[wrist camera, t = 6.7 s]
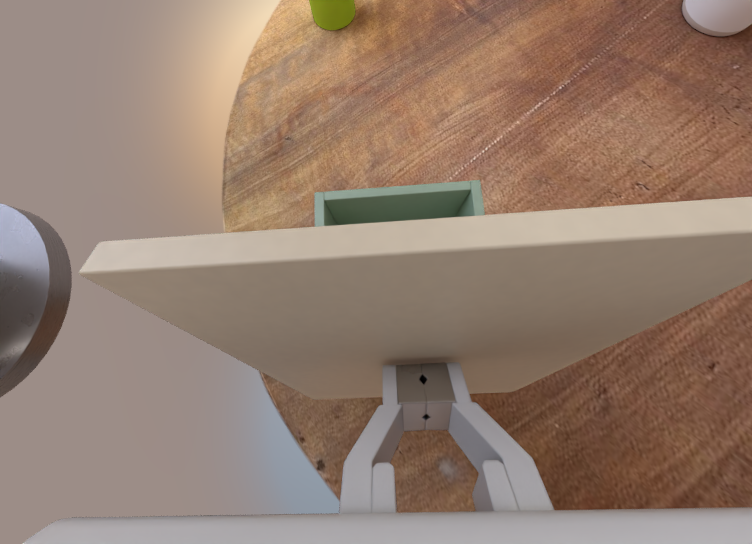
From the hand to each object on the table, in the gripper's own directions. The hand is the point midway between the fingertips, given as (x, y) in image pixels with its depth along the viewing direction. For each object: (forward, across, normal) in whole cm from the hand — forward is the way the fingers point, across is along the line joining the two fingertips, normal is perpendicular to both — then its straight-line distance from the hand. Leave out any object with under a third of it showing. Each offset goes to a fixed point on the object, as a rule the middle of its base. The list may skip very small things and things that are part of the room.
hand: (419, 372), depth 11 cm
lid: (+1, 0, 0) cm, 1 cm away
